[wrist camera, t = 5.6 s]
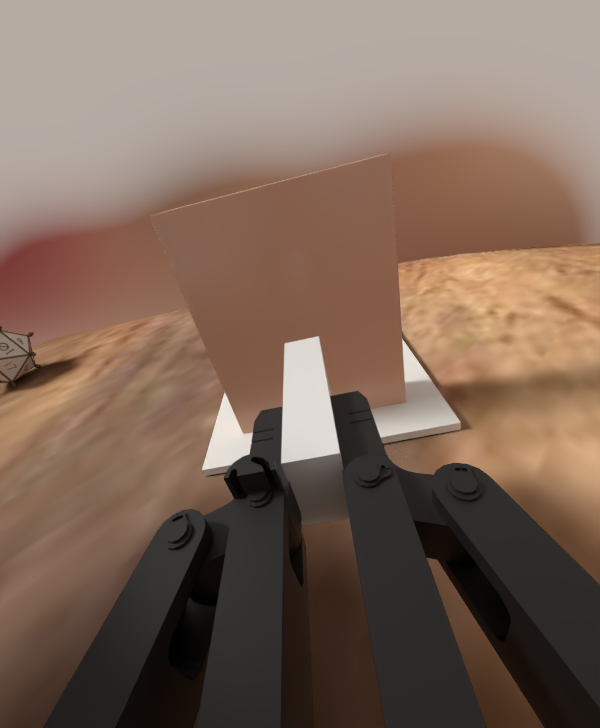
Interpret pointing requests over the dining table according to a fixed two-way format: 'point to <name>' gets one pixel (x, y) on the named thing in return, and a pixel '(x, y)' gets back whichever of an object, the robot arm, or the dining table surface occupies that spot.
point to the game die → (15, 356)
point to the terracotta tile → (294, 282)
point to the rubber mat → (393, 422)
